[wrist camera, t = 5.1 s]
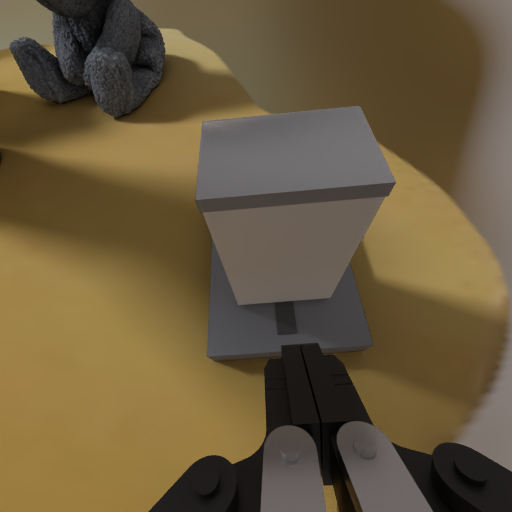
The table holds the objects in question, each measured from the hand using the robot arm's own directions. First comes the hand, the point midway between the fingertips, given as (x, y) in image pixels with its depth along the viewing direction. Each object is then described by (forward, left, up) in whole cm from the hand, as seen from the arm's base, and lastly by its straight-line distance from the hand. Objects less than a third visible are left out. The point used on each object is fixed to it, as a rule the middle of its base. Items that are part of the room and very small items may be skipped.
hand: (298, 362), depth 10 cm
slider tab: (+3, +5, -5) cm, 8 cm away
